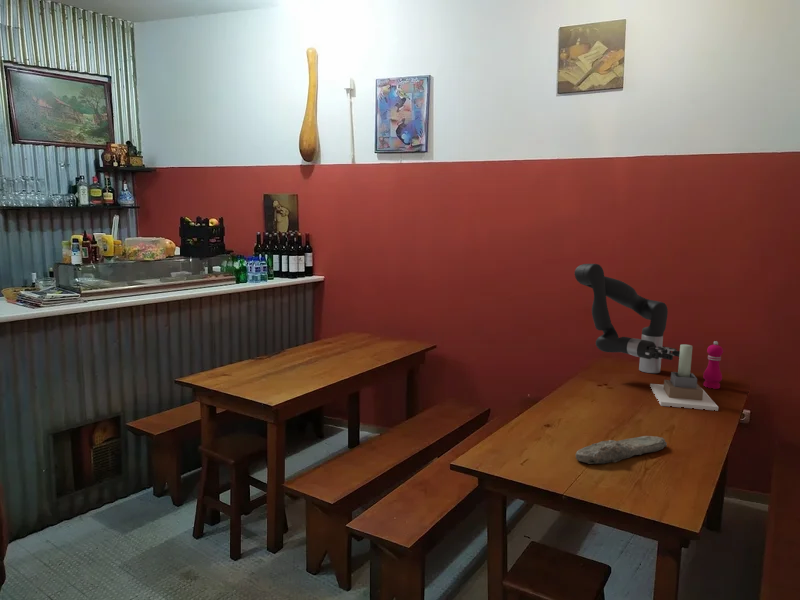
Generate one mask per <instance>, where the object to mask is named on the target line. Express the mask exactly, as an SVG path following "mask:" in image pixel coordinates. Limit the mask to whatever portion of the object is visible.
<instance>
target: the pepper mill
mask: <svg viewBox="0 0 800 600" xmlns="http://www.w3.org/2000/svg"><path fill="white" fill-rule="evenodd" d="M706 353H707V354H708V355H707V359H708V364H707V367H706V369H705V370H704V371H703V374H702V375H703V377H702V378H703V380H704V381H703V387H704V386H705V388H707V387H708V388H707V389H711V388H713V389H712V390H715V389H716V390H717V389H720V388H721V383H720V382H721V381H722V380H723V374H722V372H721V368H720V361H721V360H722V355H723V353H724V349H723V347H722V346H721V345H719V342H718V341H717V340H716V341H715V340H714V341H713V344H710V345H709V346H708V347H707V350H706Z"/></svg>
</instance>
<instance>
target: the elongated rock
mask: <svg viewBox="0 0 800 600" xmlns="http://www.w3.org/2000/svg"><path fill="white" fill-rule="evenodd" d="M667 444H668V443H667V441H666V439H665V438H664V437H660V436H657V435H656V436H653V435H642V436H638V437H631V438H630V437H629V438H624V439H619V440H614V439H609V440H602V441H599V442H596V443H592V444H591V445H587V446H584V447H582V448H580V449H578V450H577V451H576V453H575V459H576V460H577V461H578V462H582V463H586V464H587V465H590V464H591V465H592V464H600V465H601V464H603V465H604V464H607V463H608V464H609V463H617V462H620V461H621V460H626V459H630V458H632V457H634V456H642V455H643V454H647V453H654V452H658V451H660V450H663V449H664V448H665V447H667Z"/></svg>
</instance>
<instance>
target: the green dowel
mask: <svg viewBox="0 0 800 600" xmlns="http://www.w3.org/2000/svg"><path fill="white" fill-rule="evenodd" d="M679 351H680V354H679V357H678V358H679V359H678V367H677V372H678V377H689V378H690V373H691V371H692V370H691V367H692V357H693V345H691V344H686V343H685V344H680V346H679Z"/></svg>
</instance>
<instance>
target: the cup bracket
mask: <svg viewBox="0 0 800 600" xmlns="http://www.w3.org/2000/svg"><path fill="white" fill-rule="evenodd" d="M649 387H651V388H650V389H652V390H651V392H652V393H653V395H654V394H655V395H654V396H655V398H656V400H657V399H658V400H657V402H658V401H659V402H658V403H659V405H660V406H661V407H670V406H672V408H673V407H674V408H681V407H684V409H692V408H694V410H695V409H696V410H703V409H705V410H707V411H714V410H715V412H716V411H717V412H719V406H718V405H717V404H716V402H715V401H714V400H713V399H712V398H711V397H710V396H709V395H708V393H707V392H706V391H705V390H704V389H703V388H702V387H701V386H700V385H699V384H698V378H697V377H696V375H695V374H694V373H693V372H690V378H689V377H678V371H671V372H670V379H664V380H663V384H660V383H659V384H658V383H650V384H649ZM705 410H704V411H705Z"/></svg>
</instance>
